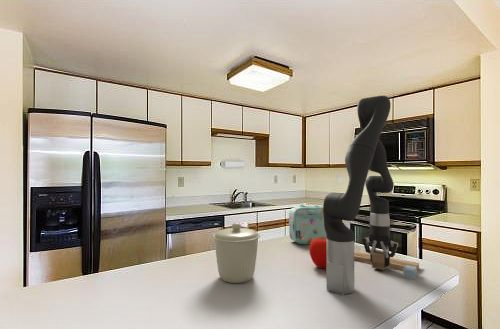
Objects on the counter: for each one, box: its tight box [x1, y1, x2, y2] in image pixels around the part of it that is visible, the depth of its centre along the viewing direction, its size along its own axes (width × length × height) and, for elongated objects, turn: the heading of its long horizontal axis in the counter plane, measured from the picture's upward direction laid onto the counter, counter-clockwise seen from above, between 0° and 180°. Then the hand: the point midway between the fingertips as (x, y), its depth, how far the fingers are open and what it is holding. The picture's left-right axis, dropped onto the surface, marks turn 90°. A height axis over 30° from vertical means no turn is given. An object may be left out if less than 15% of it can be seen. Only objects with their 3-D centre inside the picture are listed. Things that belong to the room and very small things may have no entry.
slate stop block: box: [402, 265, 418, 280], centre depth 106 cm, size 6×4×3 cm, turn 139°
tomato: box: [309, 237, 327, 269], centre depth 116 cm, size 11×11×13 cm
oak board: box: [354, 250, 420, 272], centre depth 120 cm, size 8×26×2 cm, turn 49°
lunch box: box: [288, 204, 326, 245], centre depth 156 cm, size 27×10×21 cm, turn 104°
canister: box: [212, 222, 261, 284], centre depth 105 cm, size 18×18×21 cm
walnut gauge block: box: [371, 249, 387, 271], centre depth 114 cm, size 6×4×6 cm
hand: (380, 264), depth 114 cm, fingers closed on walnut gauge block, 4 cm apart
